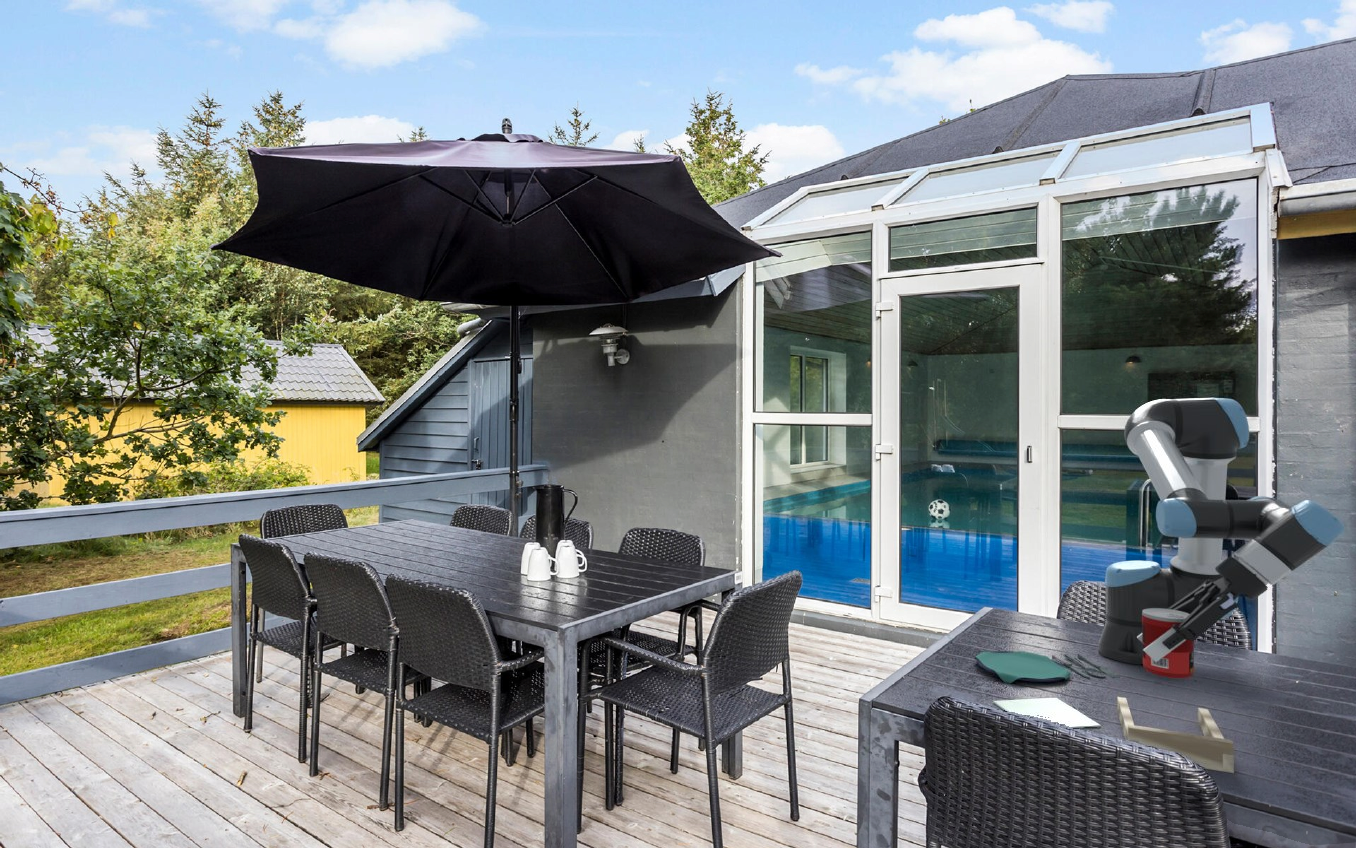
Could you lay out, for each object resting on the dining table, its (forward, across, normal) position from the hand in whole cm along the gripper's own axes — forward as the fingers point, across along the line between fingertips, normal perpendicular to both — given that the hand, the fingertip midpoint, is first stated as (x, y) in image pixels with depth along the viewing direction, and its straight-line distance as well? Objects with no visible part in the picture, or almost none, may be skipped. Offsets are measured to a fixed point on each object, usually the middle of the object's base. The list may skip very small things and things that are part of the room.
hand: (1146, 649), depth 137 cm
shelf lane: (+9, -1, -14) cm, 16 cm away
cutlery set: (+24, +30, 0) cm, 38 cm away
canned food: (0, 0, -5) cm, 5 cm away
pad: (+23, +2, +1) cm, 24 cm away
